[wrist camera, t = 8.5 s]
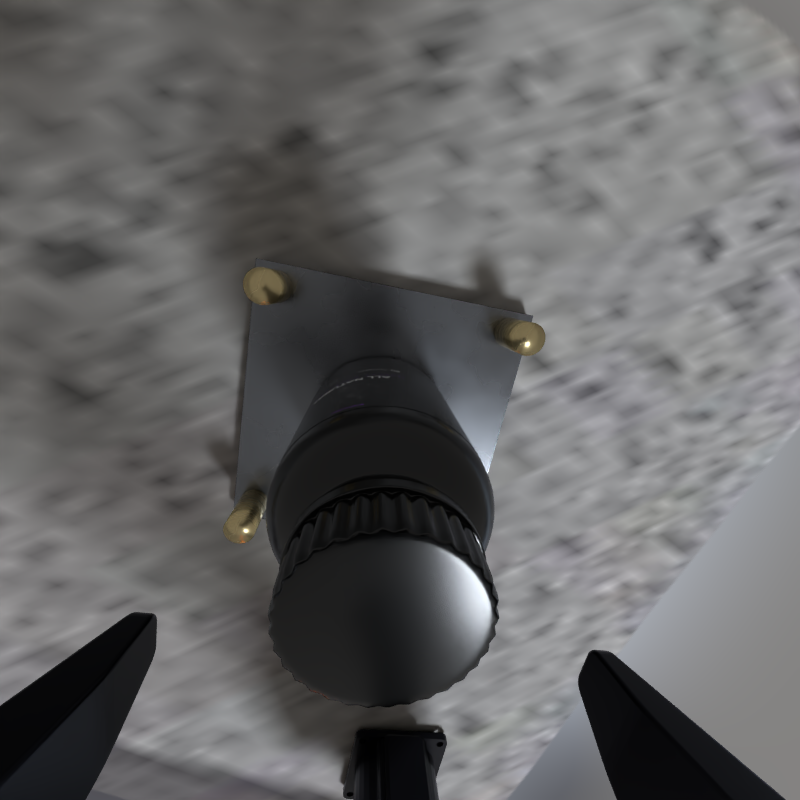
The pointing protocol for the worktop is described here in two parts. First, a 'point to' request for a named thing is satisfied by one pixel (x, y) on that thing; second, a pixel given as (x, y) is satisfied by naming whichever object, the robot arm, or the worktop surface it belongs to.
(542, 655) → the worktop surface
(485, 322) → the chassis plate
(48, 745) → the robot arm
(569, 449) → the worktop surface
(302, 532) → the supplement bottle
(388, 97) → the worktop surface
